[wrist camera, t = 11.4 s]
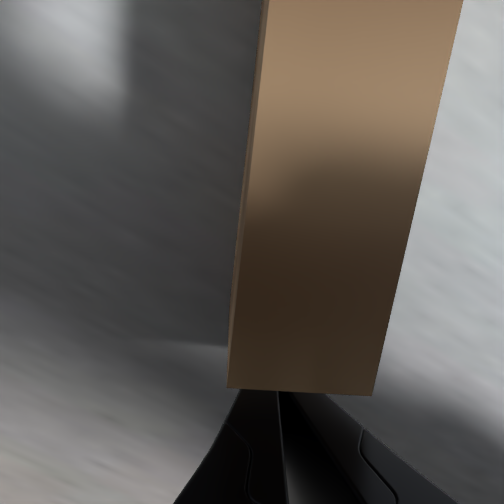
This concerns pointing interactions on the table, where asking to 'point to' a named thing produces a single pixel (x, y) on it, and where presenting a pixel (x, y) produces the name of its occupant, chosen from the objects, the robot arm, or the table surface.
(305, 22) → the wooden plank
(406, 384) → the table surface
